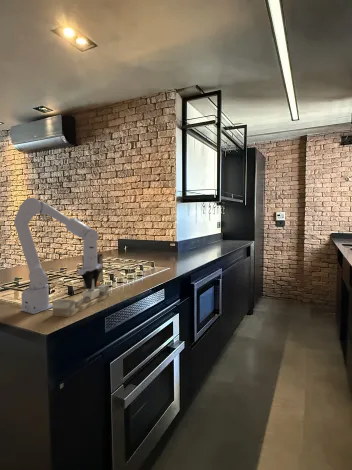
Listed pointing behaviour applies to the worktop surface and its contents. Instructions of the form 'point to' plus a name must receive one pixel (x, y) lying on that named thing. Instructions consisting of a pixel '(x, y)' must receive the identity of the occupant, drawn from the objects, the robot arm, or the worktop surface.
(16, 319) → the worktop surface
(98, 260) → the coffee box
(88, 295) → the carriage
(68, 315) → the rail base
